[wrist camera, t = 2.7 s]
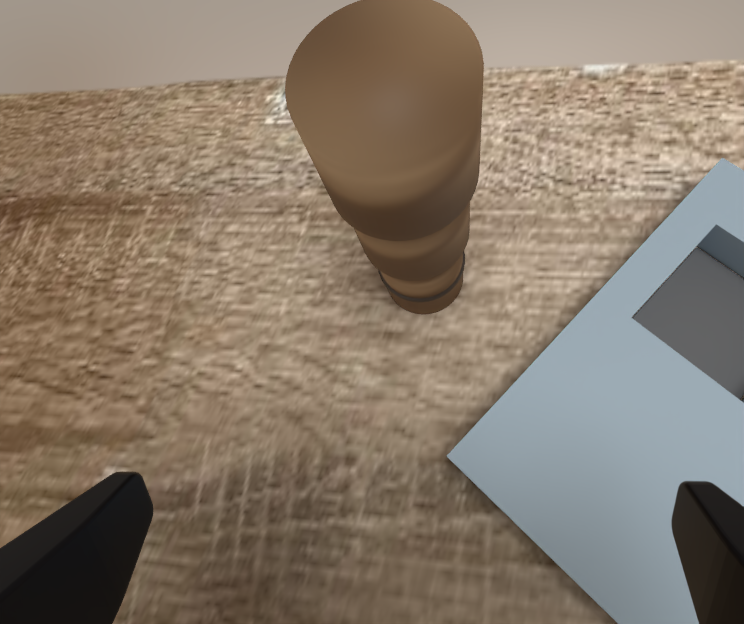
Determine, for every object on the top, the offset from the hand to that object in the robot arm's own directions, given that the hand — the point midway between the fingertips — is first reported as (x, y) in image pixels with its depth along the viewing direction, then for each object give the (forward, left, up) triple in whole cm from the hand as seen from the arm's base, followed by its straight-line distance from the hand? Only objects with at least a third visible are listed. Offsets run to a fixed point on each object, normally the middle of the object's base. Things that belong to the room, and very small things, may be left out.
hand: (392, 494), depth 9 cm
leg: (+6, +6, -13) cm, 16 cm away
